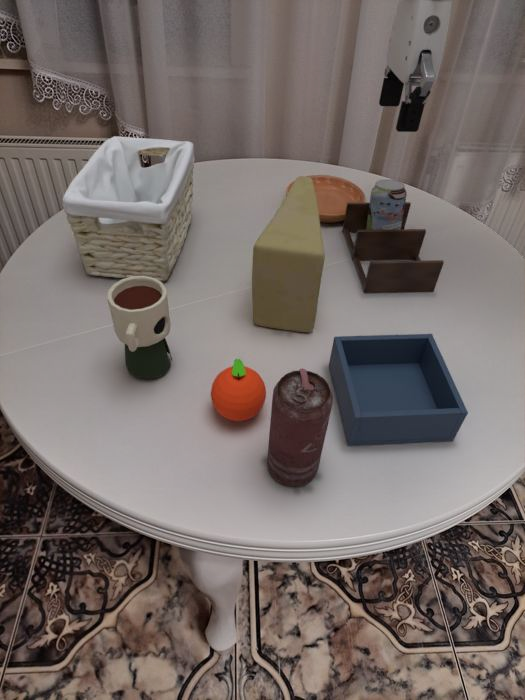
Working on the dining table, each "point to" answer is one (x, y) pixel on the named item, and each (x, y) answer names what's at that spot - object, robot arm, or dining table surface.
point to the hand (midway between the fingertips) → (397, 117)
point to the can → (298, 426)
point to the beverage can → (386, 205)
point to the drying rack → (389, 254)
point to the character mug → (142, 324)
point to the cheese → (289, 263)
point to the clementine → (238, 392)
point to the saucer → (334, 196)
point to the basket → (132, 207)
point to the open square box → (394, 390)
